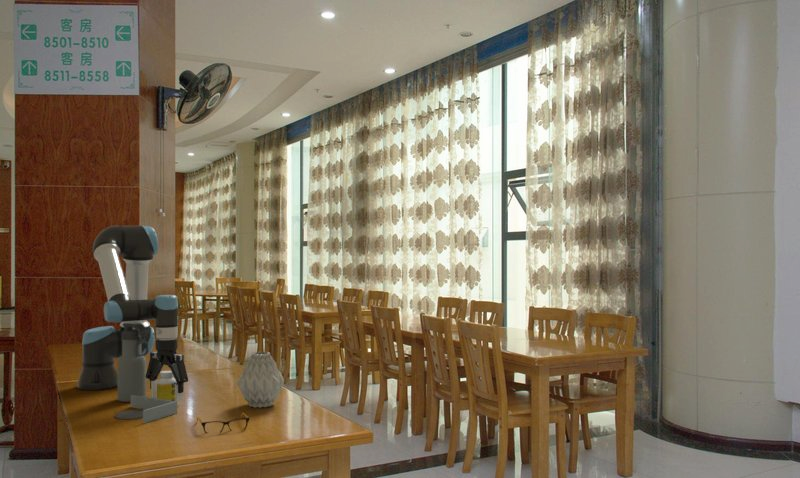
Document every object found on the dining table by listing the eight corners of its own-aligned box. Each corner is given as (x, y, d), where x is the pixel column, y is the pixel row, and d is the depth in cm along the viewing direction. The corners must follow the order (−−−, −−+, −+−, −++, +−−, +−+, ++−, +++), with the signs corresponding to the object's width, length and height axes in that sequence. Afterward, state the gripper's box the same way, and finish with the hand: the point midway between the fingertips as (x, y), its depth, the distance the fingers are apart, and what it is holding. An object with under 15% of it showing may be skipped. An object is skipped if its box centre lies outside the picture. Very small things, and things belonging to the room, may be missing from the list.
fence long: (130, 406, 237) (130, 395, 237) (132, 406, 238) (132, 395, 238) (170, 413, 229) (170, 401, 229) (172, 412, 230) (172, 400, 230)
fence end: (142, 422, 217) (142, 410, 217) (175, 412, 229) (175, 401, 229) (144, 423, 216) (144, 410, 216) (177, 413, 229) (177, 401, 229)
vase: (244, 413, 229) (244, 358, 229) (232, 402, 243) (232, 351, 243) (290, 407, 236) (290, 354, 236) (276, 398, 251) (276, 348, 251)
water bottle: (152, 397, 252) (152, 322, 252) (134, 403, 242) (134, 325, 242) (130, 395, 255) (130, 321, 255) (111, 401, 246) (111, 324, 246)
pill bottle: (170, 407, 237) (170, 373, 237) (153, 406, 238) (153, 373, 238) (179, 402, 244) (179, 370, 244) (163, 401, 245) (163, 369, 245)
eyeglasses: (202, 436, 204) (202, 422, 204) (196, 424, 217) (196, 411, 217) (249, 430, 209) (249, 417, 209) (241, 419, 223) (241, 407, 223)
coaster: (107, 417, 224) (107, 415, 224) (134, 409, 234) (134, 408, 234) (131, 421, 219) (131, 419, 219) (157, 413, 229) (157, 412, 229)
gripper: (134, 337, 243) (134, 399, 243) (183, 342, 232) (183, 406, 232) (151, 335, 250) (151, 394, 250) (199, 339, 239) (199, 401, 239)
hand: (166, 400), depth 241 cm, fingers open, 11 cm apart
